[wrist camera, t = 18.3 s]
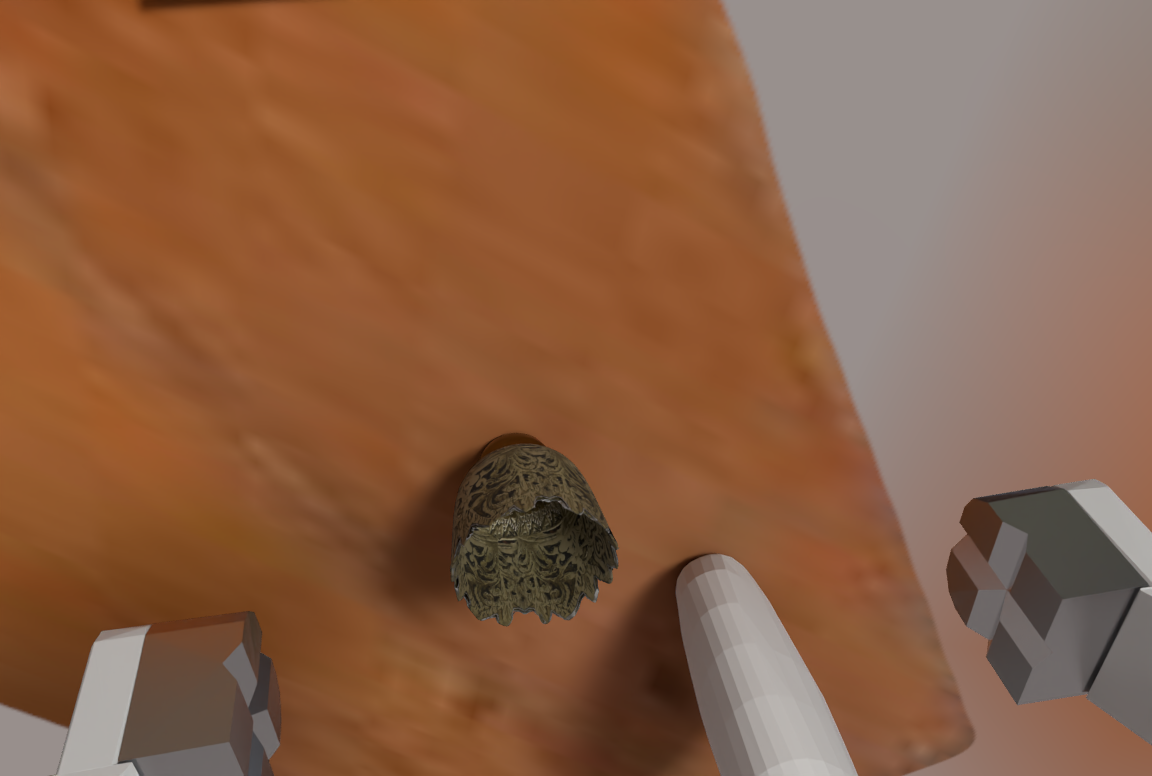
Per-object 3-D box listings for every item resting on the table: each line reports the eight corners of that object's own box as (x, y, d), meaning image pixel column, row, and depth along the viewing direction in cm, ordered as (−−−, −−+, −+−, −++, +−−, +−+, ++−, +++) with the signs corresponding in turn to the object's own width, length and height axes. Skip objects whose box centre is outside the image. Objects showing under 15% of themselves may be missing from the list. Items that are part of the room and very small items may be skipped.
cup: (428, 506, 49) (439, 629, 42) (449, 390, 45) (464, 508, 38) (568, 511, 51) (598, 629, 44) (600, 402, 47) (638, 514, 40)
